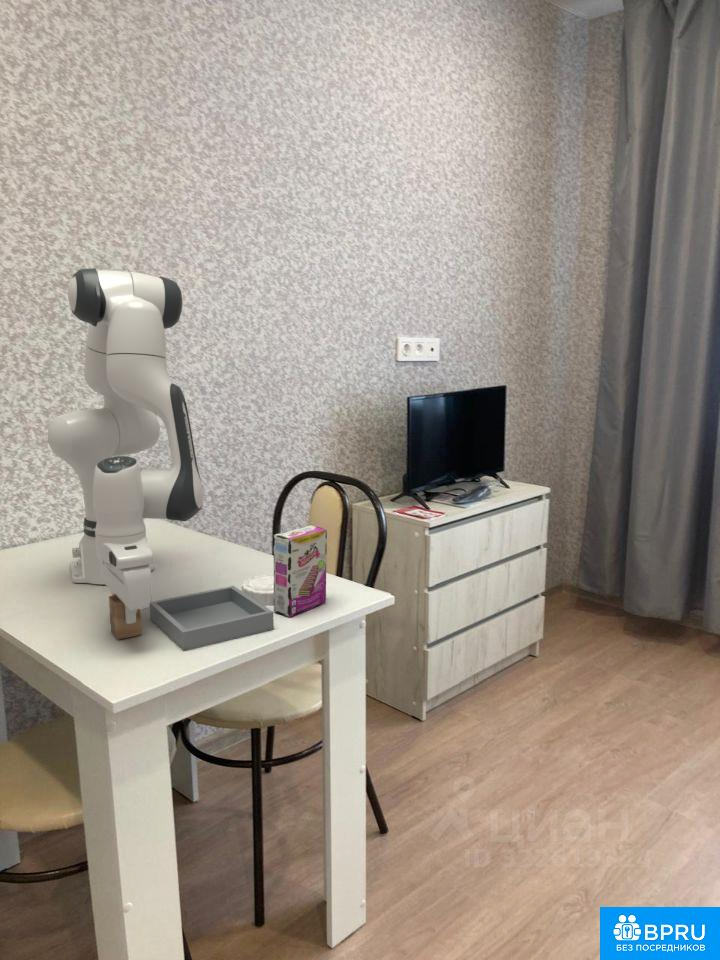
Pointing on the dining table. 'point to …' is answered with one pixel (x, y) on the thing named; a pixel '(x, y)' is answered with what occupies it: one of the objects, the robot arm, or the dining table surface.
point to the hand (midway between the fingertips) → (125, 617)
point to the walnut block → (122, 620)
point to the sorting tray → (210, 617)
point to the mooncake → (260, 589)
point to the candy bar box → (299, 570)
